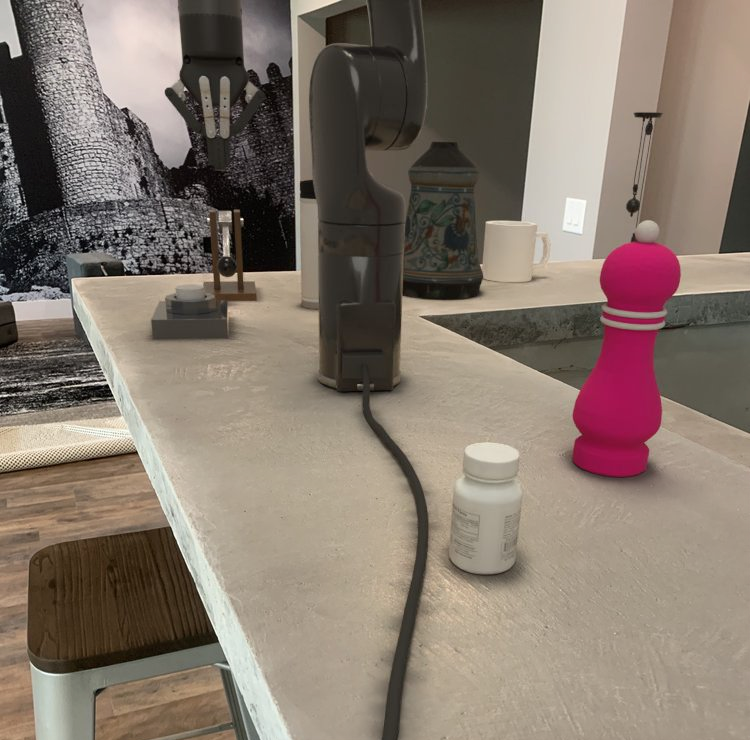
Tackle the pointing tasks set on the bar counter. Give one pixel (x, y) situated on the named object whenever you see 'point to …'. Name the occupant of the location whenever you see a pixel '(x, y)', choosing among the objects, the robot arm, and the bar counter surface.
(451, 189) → the beer stein
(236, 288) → the pendulum stand
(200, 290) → the flush button
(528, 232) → the mug
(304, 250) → the travel mug
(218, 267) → the flush lever
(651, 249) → the pepper mill
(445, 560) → the bar counter surface
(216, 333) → the button base
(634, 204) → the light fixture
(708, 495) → the bar counter surface
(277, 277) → the bar counter surface
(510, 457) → the pill bottle
